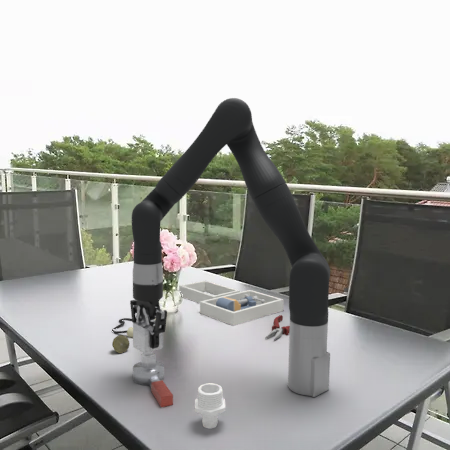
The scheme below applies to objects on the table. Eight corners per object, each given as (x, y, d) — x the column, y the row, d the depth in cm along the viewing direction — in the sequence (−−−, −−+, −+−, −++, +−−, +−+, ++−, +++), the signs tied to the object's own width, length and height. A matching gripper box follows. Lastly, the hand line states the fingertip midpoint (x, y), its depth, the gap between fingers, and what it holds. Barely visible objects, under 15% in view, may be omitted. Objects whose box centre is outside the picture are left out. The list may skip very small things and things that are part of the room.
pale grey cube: (163, 348, 117) (163, 323, 116) (144, 353, 113) (144, 328, 112) (151, 341, 121) (151, 318, 120) (133, 346, 117) (132, 322, 116)
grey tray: (239, 301, 187) (240, 290, 187) (213, 308, 178) (213, 296, 177) (205, 290, 204) (205, 280, 203) (179, 295, 194) (179, 285, 194)
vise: (231, 321, 162) (231, 303, 161) (212, 314, 170) (212, 297, 169) (265, 311, 174) (265, 295, 173) (246, 305, 182) (246, 289, 181)
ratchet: (183, 402, 105) (183, 375, 105) (150, 409, 102) (149, 382, 101) (159, 369, 123) (158, 345, 122) (129, 374, 119) (129, 350, 119)
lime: (131, 349, 136) (130, 333, 135) (123, 355, 131) (122, 339, 131) (117, 347, 137) (117, 331, 137) (109, 354, 133) (109, 337, 132)
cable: (97, 334, 150) (97, 324, 149) (124, 319, 165) (124, 310, 164) (138, 340, 144) (138, 330, 144) (163, 324, 159) (163, 315, 159)
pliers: (252, 338, 147) (252, 330, 147) (279, 320, 165) (279, 313, 165) (287, 346, 141) (287, 338, 141) (310, 327, 159) (310, 319, 159)
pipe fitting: (224, 415, 100) (224, 380, 99) (225, 434, 93) (225, 397, 92) (195, 415, 100) (195, 380, 99) (194, 434, 93) (194, 397, 92)
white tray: (283, 310, 175) (283, 299, 175) (233, 325, 158) (233, 313, 157) (249, 300, 189) (249, 289, 188) (199, 313, 171) (200, 301, 171)
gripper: (120, 276, 117) (121, 339, 119) (150, 288, 107) (151, 356, 109) (145, 272, 122) (145, 333, 124) (176, 283, 112) (176, 349, 114)
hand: (148, 343), depth 117 cm, fingers closed on pale grey cube, 5 cm apart
